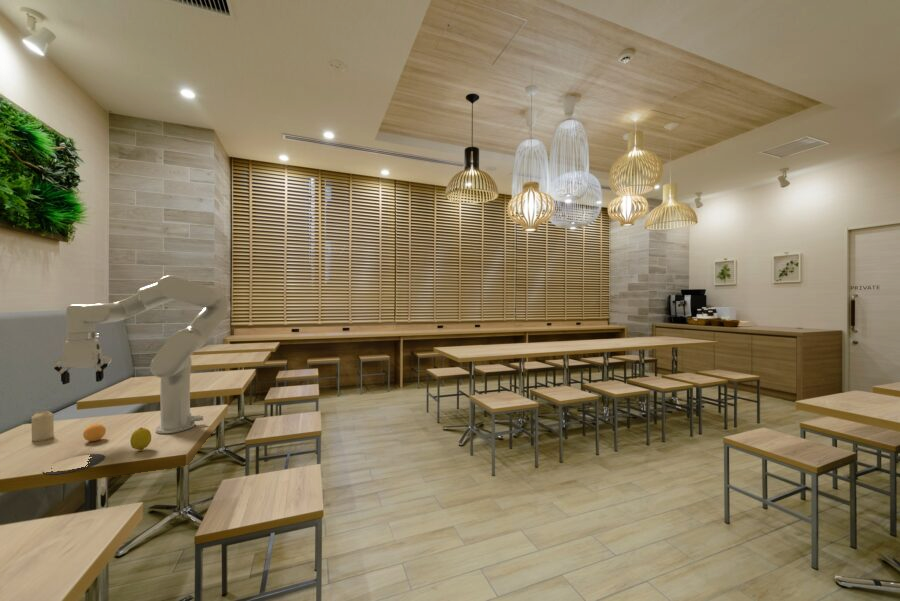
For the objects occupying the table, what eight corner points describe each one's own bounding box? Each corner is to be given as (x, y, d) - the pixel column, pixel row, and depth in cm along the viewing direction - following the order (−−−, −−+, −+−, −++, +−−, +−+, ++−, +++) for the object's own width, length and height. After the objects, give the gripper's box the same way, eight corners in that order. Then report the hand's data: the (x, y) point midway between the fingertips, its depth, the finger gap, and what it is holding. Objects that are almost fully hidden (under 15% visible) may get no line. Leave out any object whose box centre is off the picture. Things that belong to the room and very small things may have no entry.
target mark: (110, 451, 127) (110, 450, 127) (98, 467, 115) (98, 466, 115) (52, 460, 120) (52, 460, 120) (33, 479, 108) (33, 478, 108)
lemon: (139, 454, 124) (139, 430, 124) (126, 453, 126) (126, 429, 125) (155, 447, 130) (155, 425, 130) (142, 446, 131) (142, 424, 131)
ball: (107, 436, 140) (107, 420, 140) (103, 441, 135) (103, 425, 135) (86, 439, 137) (85, 423, 137) (81, 445, 132) (80, 428, 132)
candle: (28, 442, 135) (27, 415, 134) (37, 437, 140) (36, 410, 139) (48, 440, 137) (48, 413, 137) (57, 434, 142) (56, 408, 142)
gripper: (115, 334, 146) (116, 378, 146) (57, 337, 140) (58, 382, 140) (105, 336, 139) (107, 382, 139) (44, 339, 133) (45, 387, 133)
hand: (82, 382), depth 140 cm, fingers open, 9 cm apart
